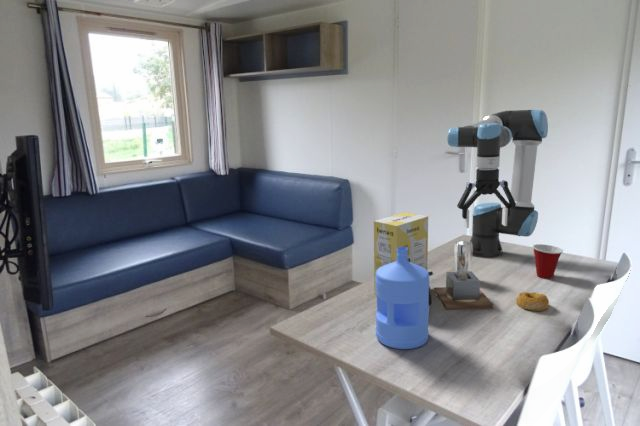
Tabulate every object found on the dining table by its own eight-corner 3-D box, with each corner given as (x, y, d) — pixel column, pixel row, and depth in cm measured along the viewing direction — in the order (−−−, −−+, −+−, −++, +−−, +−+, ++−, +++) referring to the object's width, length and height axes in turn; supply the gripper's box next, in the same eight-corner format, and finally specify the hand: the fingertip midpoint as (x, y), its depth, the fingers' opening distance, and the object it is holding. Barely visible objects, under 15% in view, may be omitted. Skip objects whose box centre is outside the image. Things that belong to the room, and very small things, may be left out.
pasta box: (404, 280, 178) (405, 212, 172) (426, 287, 170) (428, 216, 164) (374, 293, 166) (373, 221, 160) (396, 301, 159) (396, 226, 152)
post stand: (434, 291, 166) (434, 265, 164) (476, 289, 166) (478, 263, 164) (445, 310, 151) (446, 281, 148) (493, 308, 151) (494, 280, 148)
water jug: (392, 320, 145) (392, 237, 139) (437, 334, 135) (439, 246, 129) (365, 340, 133) (364, 251, 127) (412, 356, 124) (414, 261, 117)
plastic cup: (566, 280, 171) (569, 251, 169) (537, 281, 172) (540, 252, 169) (552, 270, 182) (555, 242, 179) (525, 271, 182) (527, 243, 179)
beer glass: (469, 275, 180) (470, 240, 177) (473, 282, 173) (474, 245, 170) (451, 275, 181) (452, 240, 177) (455, 282, 174) (456, 245, 171)
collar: (445, 290, 163) (446, 272, 161) (470, 289, 163) (471, 271, 161) (453, 300, 154) (453, 281, 152) (479, 299, 154) (480, 280, 152)
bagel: (544, 300, 156) (545, 287, 155) (551, 314, 146) (552, 300, 145) (514, 298, 159) (514, 285, 158) (518, 312, 148) (519, 298, 147)
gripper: (455, 171, 153) (453, 230, 158) (528, 167, 153) (524, 227, 158) (449, 168, 160) (448, 224, 166) (518, 164, 160) (515, 221, 165)
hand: (485, 226), depth 162 cm, fingers open, 13 cm apart
